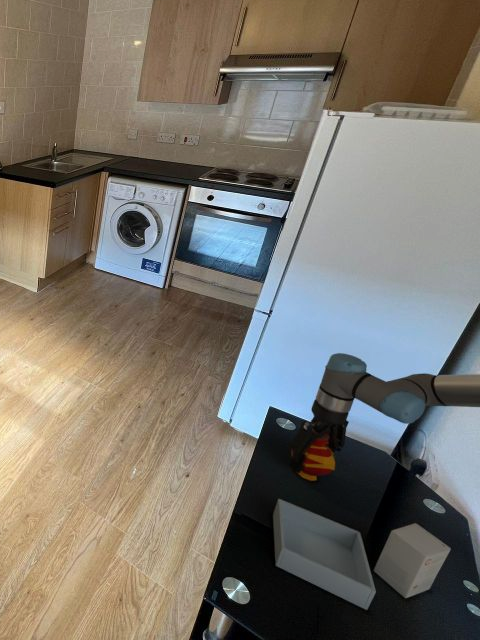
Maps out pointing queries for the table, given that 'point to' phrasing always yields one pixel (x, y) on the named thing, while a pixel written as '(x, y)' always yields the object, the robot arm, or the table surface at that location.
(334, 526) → the gray square tray
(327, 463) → the potion bottle
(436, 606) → the table surface
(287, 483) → the table surface
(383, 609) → the table surface
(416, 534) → the small box
